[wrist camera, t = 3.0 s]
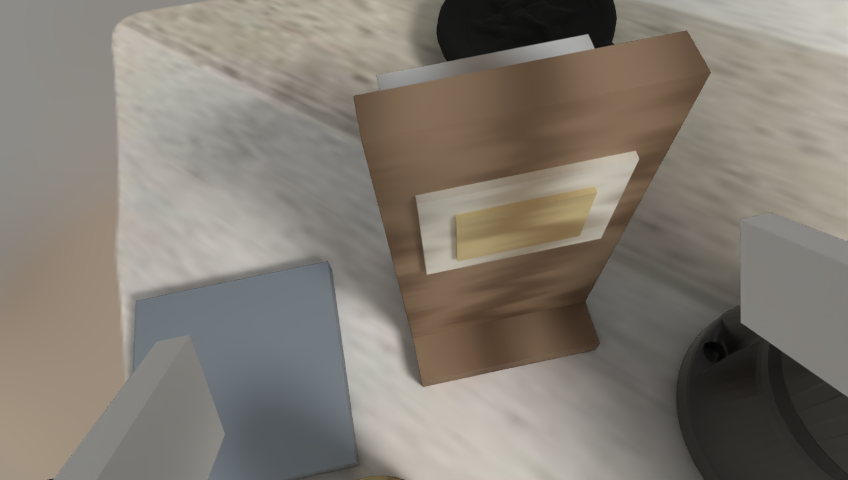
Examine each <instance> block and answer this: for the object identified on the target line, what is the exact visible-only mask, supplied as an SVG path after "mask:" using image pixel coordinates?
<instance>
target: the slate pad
mask: <svg viewBox="0 0 848 480" xmlns="http://www.w3.org/2000/svg"><path fill="white" fill-rule="evenodd" d="M185 335H190V336H191V339H192V342H193V345H194V347H195V350H196V353H197V356H198V359H199V362H200V365H201V367H202V370H203V373H204V376H205V379H206V382H207V384H208V387H209V390H210V393H211V396H212V399H213V402H214V404H215V407H216V410H217V413H218V416H219V419H220V421H221V424H222V427H223V430H224V433H225V435H224V438H223V441H222V443H221V446H220V449H219V451H218V454H217V456H216V459H215V462H214V464H213V467H212V470H211V472H210V475H209V478H208V480H293V479H298V478H302V477H307V476H311V475H316V474H320V473H325V472H329V471H334V470H339V469H343V468H348V467H352V466H357V465H359V462H358V455H357V448H356V441H355V433H354V426H353V419H352V412H351V404H350V397H349V390H348V383H347V375H346V368H345V361H344V354H343V346H342V339H341V332H340V325H339V317H338V310H337V303H336V296H335V288H334V281H333V274H332V269H331V267H330V265H329V263H328V261H327V262H322V263H317V264H312V265H307V266H302V267H297V268H293V269H288V270H283V271H278V272H273V273H268V274H264V275H259V276H254V277H249V278H244V279H239V280H235V281H230V282H225V283H220V284H215V285H210V286H206V287H201V288H196V289H191V290H186V291H181V292H177V293H172V294H167V295H162V296H157V297H152V298H148V299H143V300H138V301H136V313H135V341H134V370H133V372H134V371H135V370H136V368H137V367H138V366H139V364H140V363H141V362H142V360H143V359H144V358H145V356H146V355H147V354H148V352H149V351H150V350H151V348H152V347H153V346H154V344H155V343H156V342H157V341H162V340H166V339H171V338H176V337H181V336H185Z"/></svg>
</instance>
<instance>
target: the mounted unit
mask: <svg viewBox="0 0 848 480" xmlns="http://www.w3.org/2000/svg"><path fill="white" fill-rule="evenodd" d="M710 73H711V72H710V70H709V68H708V66H707V65H706V63H705V61H704V59H703V58H702V56H701V54H700V52H699V51H698V49H697V47H696V46H695V44H694V42H693V40H692V39H691V37H690V35H689V33H688V32H687V31H682V32H677V33H672V34H667V35H662V36H657V37H652V38H647V39H641V40H636V41H631V42H626V43H621V44H616V45H611V46H606V47H601V48H596V49H595V48H594V46H593V44H592V42H591V39H590V37H589V35H588V34H586V35H581V36H576V37H571V38H566V39H561V40H556V41H551V42H545V43H540V44H535V45H530V46H525V47H520V48H515V49H510V50H504V51H499V52H494V53H489V54H484V55H479V56H474V57H469V58H464V59H458V60H453V61H448V62H443V63H438V64H433V65H428V66H423V67H417V68H412V69H407V70H402V71H397V72H392V73H387V74H382V75H376V77H377V82H378V87H379V91H377V92H371V93H366V94H361V95H356V96H353V97H354V102H355V108H356V113H357V118H358V124H359V129H360V135H361V140H362V144H363V148H364V152H365V156H366V160H367V164H368V167H369V171H370V175H371V179H372V183H373V187H374V190H375V194H376V198H377V202H378V206H379V210H380V213H381V217H382V221H383V225H384V229H385V233H386V236H387V240H388V244H389V248H390V252H391V256H392V259H393V263H394V267H395V271H396V275H397V279H398V282H399V286H400V290H401V294H402V298H403V302H404V305H405V309H406V313H407V317H408V321H409V325H410V328H411V332H412V336H413V341H414V346H415V351H416V356H417V361H418V366H419V371H420V376H421V381H422V385H423V387H425V386H429V385H434V384H438V383H443V382H448V381H452V380H457V379H462V378H466V377H471V376H475V375H480V374H485V373H489V372H494V371H499V370H503V369H508V368H512V367H517V366H522V365H526V364H531V363H536V362H540V361H545V360H549V359H554V358H559V357H563V356H568V355H573V354H577V353H582V352H586V351H591V350H595V349H596V348H597V346H598V345H599V344H600V343H599V340H598V337H597V334H596V331H595V328H594V326H593V323H592V320H591V317H590V314H589V311H588V309H587V306H586V303H585V301H586V299H587V297H588V295H589V293H590V292H591V290H592V288H593V286H594V284H595V282H596V281H597V279H598V277H599V275H600V273H601V272H602V270H603V268H604V266H605V264H606V262H607V261H608V259H609V257H610V255H611V253H612V251H613V250H614V248H615V246H616V244H617V242H618V241H619V239H620V237H621V235H622V233H623V231H624V230H625V228H626V226H627V224H628V222H629V221H630V219H631V217H632V215H633V213H634V211H635V210H636V208H637V206H638V204H639V202H640V201H641V199H642V197H643V195H644V193H645V191H646V190H647V188H648V186H649V184H650V182H651V180H652V179H653V177H654V175H655V173H656V171H657V170H658V168H659V166H660V164H661V162H662V160H663V159H664V157H665V155H666V153H667V151H668V150H669V148H670V146H671V144H672V142H673V140H674V139H675V137H676V135H677V133H678V131H679V129H680V128H681V126H682V124H683V122H684V120H685V119H686V117H687V115H688V113H689V111H690V109H691V108H692V106H693V104H694V102H695V100H696V99H697V97H698V95H699V93H700V91H701V89H702V88H703V86H704V84H705V82H706V80H707V78H708V77H709V75H710Z"/></svg>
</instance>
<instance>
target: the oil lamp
mask: <svg viewBox="0 0 848 480" xmlns="http://www.w3.org/2000/svg"><path fill="white" fill-rule="evenodd" d="M616 20H617V17H616V9H615V5H614V2H613V0H445V2H444V3H443V5H442V7H441V10H440V13H439V17H438V24H437V39H438V43H439V45H440V48H441V50H442V53H443V55H444V57H445V59H446V60H447V61H453V60H458V59H464V58H469V57H474V56H479V55H484V54H489V53H494V52H499V51H504V50H510V49H515V48H520V47H525V46H530V45H535V44H540V43H545V42H551V41H556V40H561V39H566V38H571V37H576V36H581V35H586V34H588V35H589V37H590V39H591V42H592V44H593V46H594V48H595V49H596V48H601V47H606V46H611V45H614V44H613V43H612V40H613V37H614V32H615V27H616Z"/></svg>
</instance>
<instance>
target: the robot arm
mask: <svg viewBox="0 0 848 480" xmlns="http://www.w3.org/2000/svg"><path fill="white" fill-rule="evenodd" d="M740 294H741V305H739V306H736V307H734V308H733V309H731V310H729V311H727V312H726V313H724V314H723V315H722V316H720V317H719V318H718V319H717V320H715V321H714V322H713V323H712V324H710V325H709V326H708V327H707V328H705V329H704V330H703V331H702V332H701V333H700V334H699V336H698V337H697V338H696V339H695V340H694V342H693V343H692V345H691V346H690V348H689V350H688V351H687V353H686V355H685V357H684V360H683V363H682V365H681V369H680V372H679V377H678V384H677V410H678V417H679V422H680V427H681V430H682V434H683V437H684V440H685V442H686V445H687V447H688V450H689V452H690V454H691V456H692V458H693V460H694V462H695V464H696V466H697V467H698V469H699V471H700V472H701V474H702V475H703V477H704V478H705V480H848V241H845V240H842V239H839V238H837V237H834V236H831V235H829V234H826V233H823V232H821V231H818V230H815V229H813V228H810V227H807V226H805V225H802V224H799V223H797V222H794V221H791V220H789V219H786V218H783V217H781V216H778V215H775V214H773V213H767V214H763V215H758V216H753V217H748V218H744V219H740ZM224 435H225V433H224V430H223V427H222V424H221V421H220V419H219V416H218V413H217V410H216V407H215V404H214V402H213V399H212V396H211V393H210V390H209V387H208V384H207V382H206V379H205V376H204V373H203V370H202V367H201V365H200V362H199V359H198V356H197V353H196V350H195V347H194V345H193V342H192V339H191V336H190V335H185V336H181V337H176V338H171V339H166V340H162V341H157V342H156V343H155V344H154V346H153V347H152V348H151V350H150V351H149V352H148V354H147V355H146V356H145V358H144V359H143V360H142V362H141V363H140V364H139V366H138V367H137V368H136V370H135V371H134V372H133V374H132V375H131V376H130V378H129V379H128V380H127V382H126V383H125V384H124V386H123V387H122V388H121V390H120V391H119V393H118V394H117V395H116V397H115V398H114V399H113V401H112V402H111V403H110V405H109V406H108V407H107V409H106V410H105V411H104V413H103V414H102V415H101V417H100V418H99V419H98V421H97V422H96V423H95V425H94V426H93V427H92V429H91V430H90V431H89V433H88V434H87V435H86V437H85V438H84V439H83V441H82V442H81V443H80V445H79V446H78V447H77V449H76V450H75V451H74V453H73V454H72V455H71V457H70V458H69V459H68V461H67V462H66V464H65V465H64V466H63V468H62V469H61V470H60V471H59V473H58V474H57V475H56V477H55V478H54V479H49V480H208V478H209V475H210V472H211V470H212V467H213V464H214V462H215V459H216V456H217V454H218V451H219V449H220V446H221V443H222V441H223V438H224Z"/></svg>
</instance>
